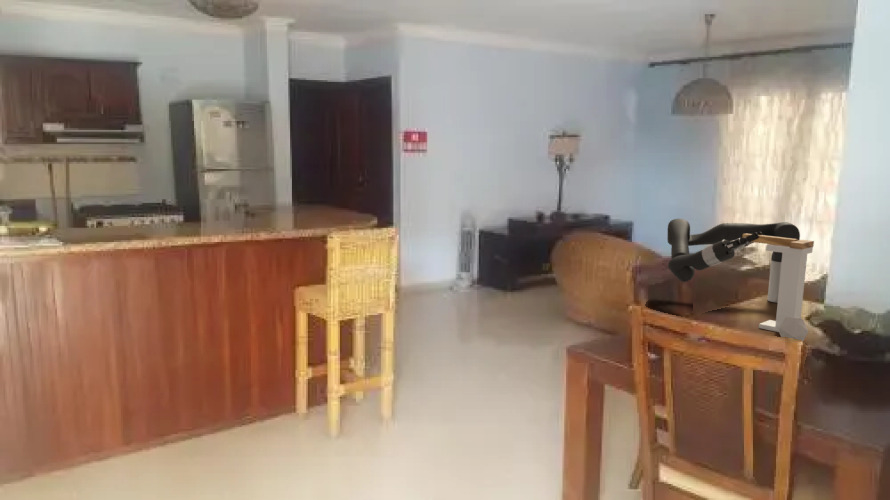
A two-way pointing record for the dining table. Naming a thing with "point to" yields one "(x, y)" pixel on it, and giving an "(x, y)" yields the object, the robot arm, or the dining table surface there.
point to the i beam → (789, 284)
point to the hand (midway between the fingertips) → (759, 234)
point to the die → (793, 328)
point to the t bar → (783, 241)
